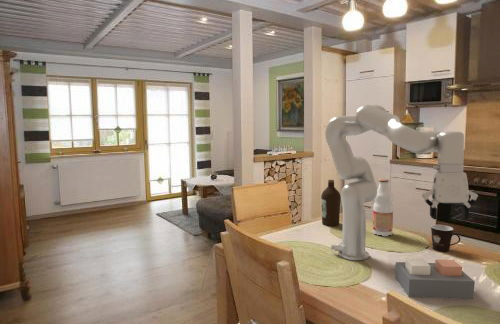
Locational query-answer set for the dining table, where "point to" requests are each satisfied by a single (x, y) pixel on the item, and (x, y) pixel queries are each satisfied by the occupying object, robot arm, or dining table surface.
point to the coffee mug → (442, 237)
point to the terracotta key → (448, 267)
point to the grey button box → (434, 284)
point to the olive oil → (330, 205)
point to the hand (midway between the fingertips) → (448, 218)
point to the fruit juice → (383, 210)
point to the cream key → (417, 267)
